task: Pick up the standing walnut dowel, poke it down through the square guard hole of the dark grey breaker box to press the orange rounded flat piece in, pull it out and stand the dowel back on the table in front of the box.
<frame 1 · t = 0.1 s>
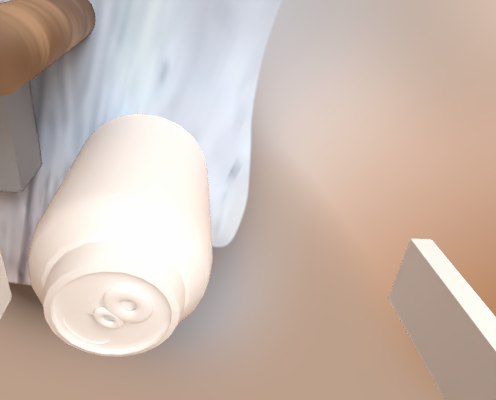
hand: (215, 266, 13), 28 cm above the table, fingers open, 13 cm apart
dowel: (69, 14, 34), on the table
can: (146, 168, 42), on the table
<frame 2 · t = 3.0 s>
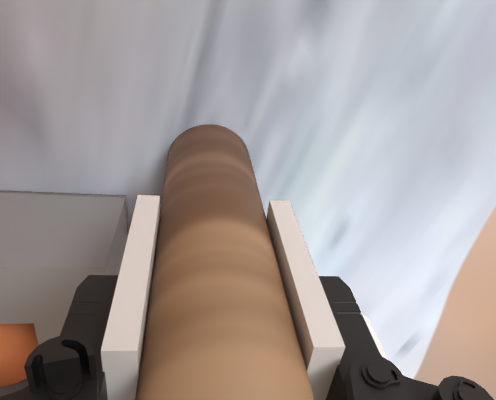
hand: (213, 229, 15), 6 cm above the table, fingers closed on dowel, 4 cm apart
breaker box: (17, 285, 22), on the table
dowel: (209, 163, 20), on the table, touching gripper
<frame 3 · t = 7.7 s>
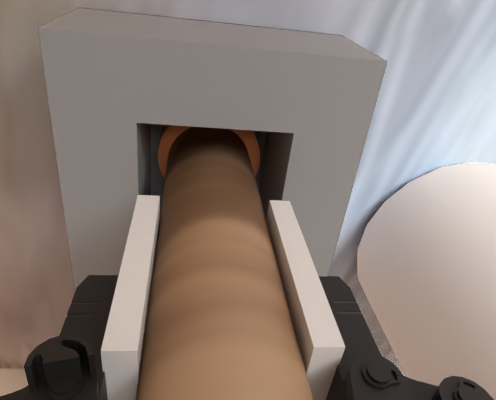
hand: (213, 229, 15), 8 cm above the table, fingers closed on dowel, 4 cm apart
breaker box: (208, 143, 22), on the table
dowel: (209, 162, 20), point 2 cm above the table, touching gripper, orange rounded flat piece
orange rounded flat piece: (209, 151, 21), point 1 cm above the table, slide at 2.5 cm, touching breaker box, dowel
can: (441, 238, 27), on the table
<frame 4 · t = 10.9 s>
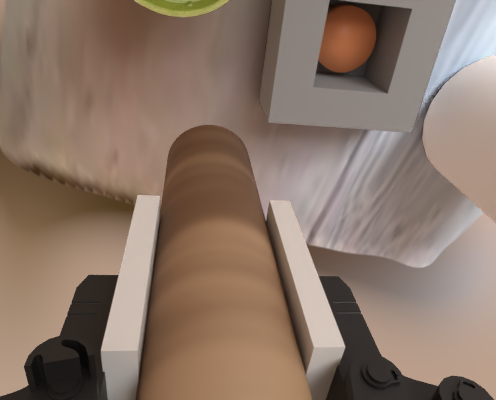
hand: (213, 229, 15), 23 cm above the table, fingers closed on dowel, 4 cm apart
breaker box: (338, 36, 34), on the table
dowel: (208, 163, 20), point 17 cm above the table, touching gripper
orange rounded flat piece: (342, 38, 33), point 1 cm above the table, slide at 2.5 cm, touching breaker box
can: (479, 117, 40), on the table
when the fingers open (7 cm above the table, at t = 13.9 s): dowel stays where it is, on the table.
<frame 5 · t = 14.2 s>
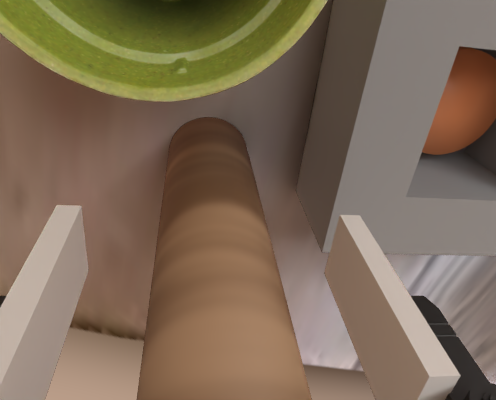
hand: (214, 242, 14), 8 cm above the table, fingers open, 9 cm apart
breaker box: (431, 93, 21), on the table
dowel: (208, 154, 21), on the table
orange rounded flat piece: (442, 99, 20), point 1 cm above the table, slide at 2.5 cm, touching breaker box
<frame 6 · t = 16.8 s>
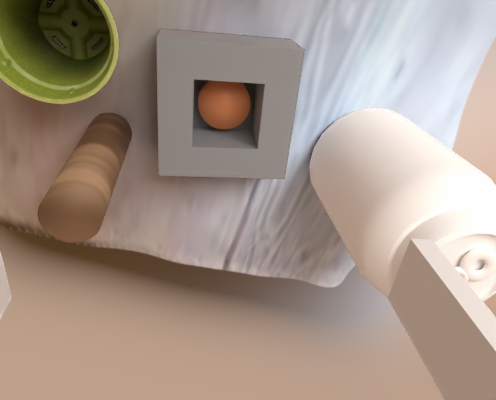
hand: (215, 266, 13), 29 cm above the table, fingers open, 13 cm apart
breaker box: (223, 98, 40), on the table
dowel: (111, 132, 41), on the table
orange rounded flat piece: (223, 101, 39), point 1 cm above the table, slide at 2.5 cm, touching breaker box
plant pot: (77, 21, 36), on the table
can: (360, 158, 46), on the table
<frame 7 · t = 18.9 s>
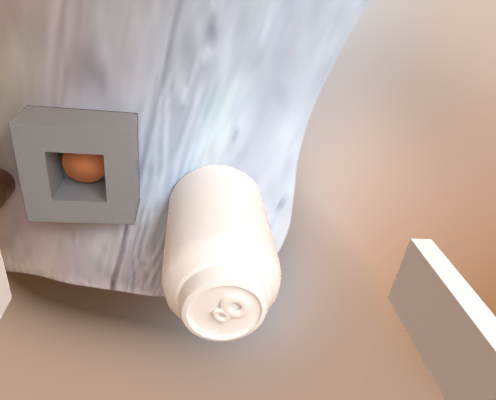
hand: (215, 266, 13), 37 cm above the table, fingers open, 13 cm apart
breaker box: (88, 157, 50), on the table
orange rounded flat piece: (86, 160, 49), point 1 cm above the table, slide at 2.5 cm, touching breaker box
can: (215, 202, 55), on the table
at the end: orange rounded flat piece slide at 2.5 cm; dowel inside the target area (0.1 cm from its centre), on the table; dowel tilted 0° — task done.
